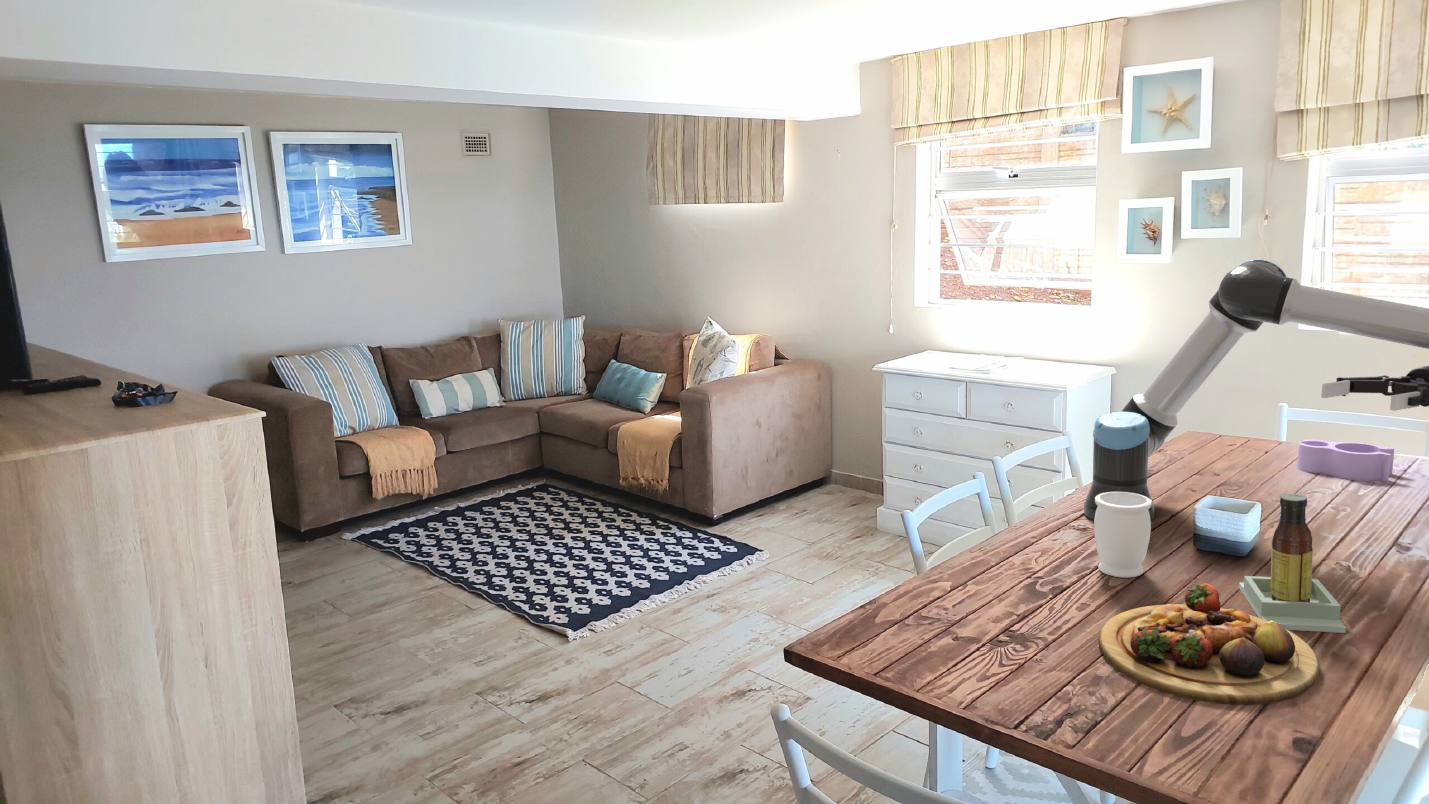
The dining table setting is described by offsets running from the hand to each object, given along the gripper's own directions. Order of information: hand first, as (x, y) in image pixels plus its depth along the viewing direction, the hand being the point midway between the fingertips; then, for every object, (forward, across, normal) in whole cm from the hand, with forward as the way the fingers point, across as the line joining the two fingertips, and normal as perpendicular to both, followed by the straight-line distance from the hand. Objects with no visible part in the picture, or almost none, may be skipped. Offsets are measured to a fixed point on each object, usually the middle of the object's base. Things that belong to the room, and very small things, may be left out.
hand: (1356, 396), depth 181 cm
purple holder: (-57, -44, +34) cm, 80 cm away
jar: (+38, -18, +34) cm, 54 cm away
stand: (+25, +9, +34) cm, 43 cm away
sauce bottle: (+25, +9, +33) cm, 43 cm away
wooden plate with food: (+52, +16, +35) cm, 64 cm away
